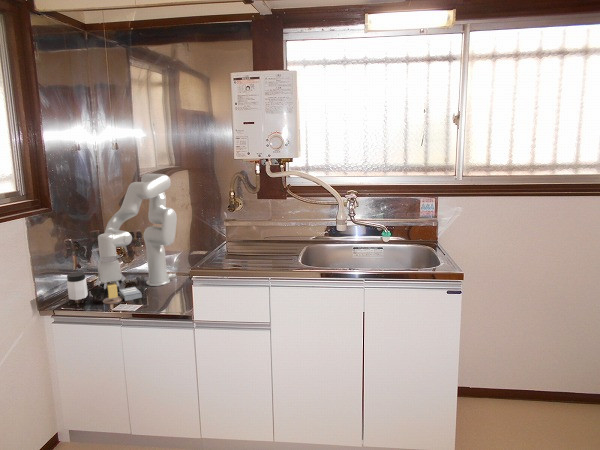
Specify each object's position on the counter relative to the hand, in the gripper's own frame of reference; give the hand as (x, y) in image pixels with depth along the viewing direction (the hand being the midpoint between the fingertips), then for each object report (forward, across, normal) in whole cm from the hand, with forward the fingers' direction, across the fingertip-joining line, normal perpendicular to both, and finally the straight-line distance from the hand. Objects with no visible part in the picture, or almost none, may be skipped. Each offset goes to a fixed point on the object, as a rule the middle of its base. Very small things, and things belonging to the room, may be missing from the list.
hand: (111, 294), depth 219 cm
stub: (+1, 0, +1) cm, 1 cm away
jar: (+4, +13, -16) cm, 21 cm away
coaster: (+3, 0, 0) cm, 3 cm away
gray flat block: (+3, -9, -2) cm, 10 cm away
